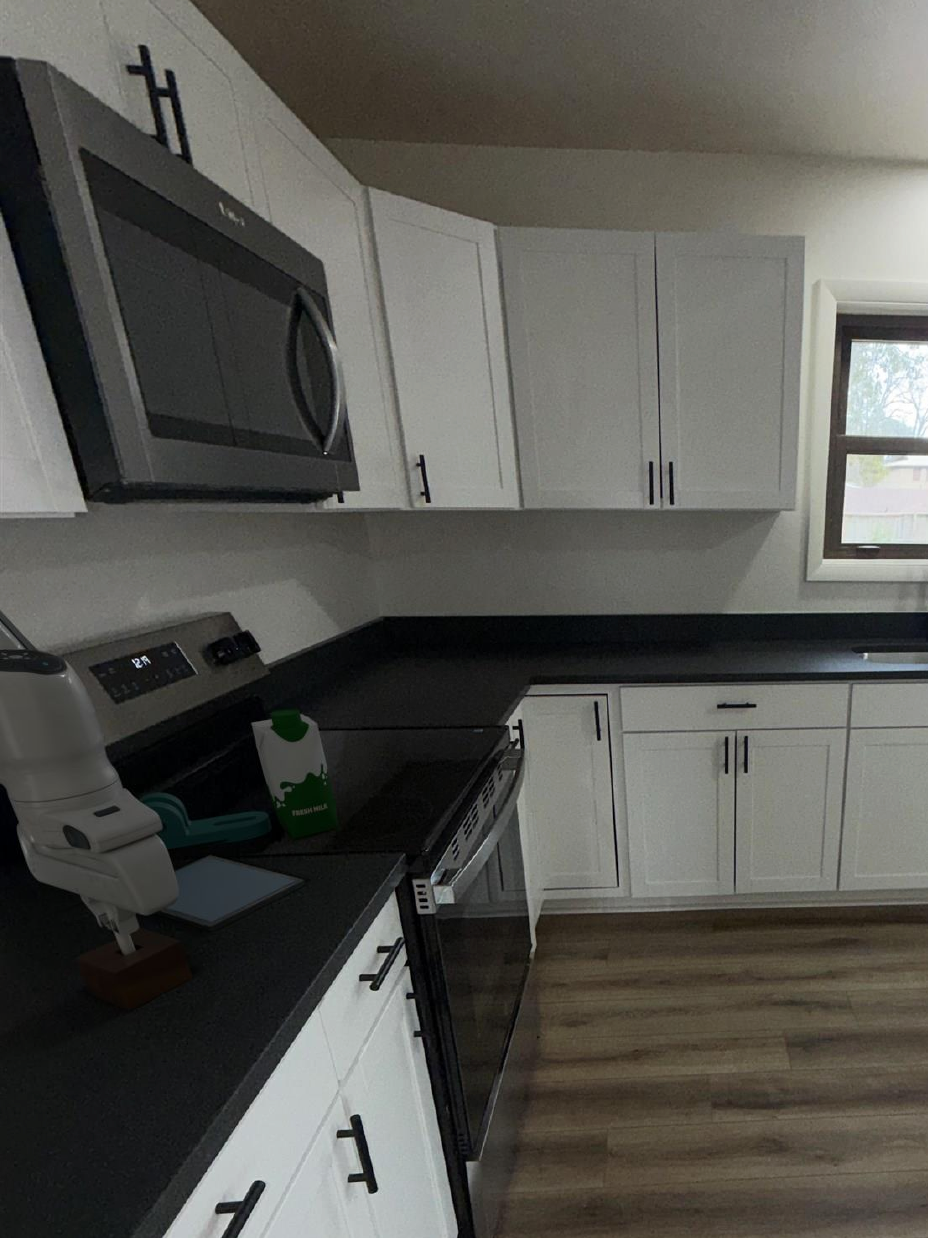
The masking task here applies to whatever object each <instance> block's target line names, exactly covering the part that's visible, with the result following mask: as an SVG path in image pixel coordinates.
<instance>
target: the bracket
mask: <svg viewBox="0 0 928 1238" xmlns="http://www.w3.org/2000/svg"><path fill="white" fill-rule="evenodd" d="M137 800H138V801H140V802H141V803H143V804H144V805H146V806H147V807H149V808H150V809H152V810H154V811H155V812H156V813H157V814H158V815H159V817H160V820H161V823H162V830H161V831H159V832H156V833H154V834H156V835H157V836H158V837H159V838H160V839H161V840H162V841H163V843H164V844H165V846H166V849H167V850H173V849H178V848H184V847H189V846H195V845H202V844H206V843H213V842H217V843H215V844H213V845H211V846H212V847H213V846H214V847H215V846H218V845H219V846H220V845H224V844H230V843H235V842H236V843H237V842H241V841H242V842H243V841H246V840H253V839H256V838H259V837H262V836H265V835H267V834H268V833H270V832H271V831H272V829H273V828H272V823H271V820H270V817H269V813H267V812H265V811H257V810H255V811H254V810H253V811H244V812H239V813H232V814H227V815H220V816H215V817H208V818H201V819H197V820H190V819H189V816H188V813H187V809H186V806H185V805H184V803H183V802H182V800H180V799H179V798H177V796H174V795H172V794H170V793H167V792H161V791H159V792H151V793H148V794H145V795H143V796H142V797H140V798H139V799H137ZM218 841H220V842H218Z"/></svg>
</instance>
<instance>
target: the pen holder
mask: <svg viewBox="0 0 928 1238" xmlns="http://www.w3.org/2000/svg"><path fill="white" fill-rule="evenodd" d="M130 937H131V939H132V942H133V944H134V947H135V949H136V951H135V952H133V953H131V954H128V955H126V956H123V954H122V951H121V949H120V946H119V944H118V941H117V939H116V938H115V939H114V940H112V941H110V942H107V943H105V944H103V945H102V946H99V947H97V948H95V949H93V950H91V951H88V952H86V953H84V954H81V955H79V956H77V957H75V961H76V963H77V966H78V968H79V970H80V972H81V975H82V977H83V980H84V982H85V984H86V987H87V989H88V991H89V994H90V996H92V997H94V998H96V999H99V1000H101V1001H104V1002H106V1003H108V1004H111V1005H114V1006H116V1007H119V1008H121V1009H123V1010H126V1011H129V1012H132V1011H134V1010H135V1009H137V1008H139V1007H141V1006H143V1005H144V1004H146V1003H148V1002H150V1001H152V1000H154V999H155V998H158V997H159V996H161V995H163V994H165V993H167V992H169V991H170V990H173V989H174V988H176V987H178V986H180V985H181V984H183V983H185V982H187V981H189V980H191V979H193V974H192V971H191V969H190V966H189V963H188V960H187V957H186V953H185V951H184V948H183V946H182V942H181V941H180V940H178V939H175V938H172V937H170V936H166V935H164V934H161V933H158V932H154V931H152V930H148V929H146V928H142V927H139V929H138V930H137V931H135V932H133V933H131V934H130Z"/></svg>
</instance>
